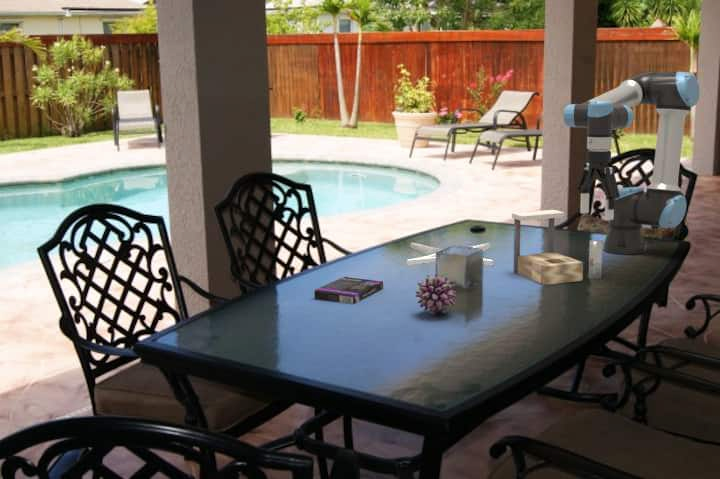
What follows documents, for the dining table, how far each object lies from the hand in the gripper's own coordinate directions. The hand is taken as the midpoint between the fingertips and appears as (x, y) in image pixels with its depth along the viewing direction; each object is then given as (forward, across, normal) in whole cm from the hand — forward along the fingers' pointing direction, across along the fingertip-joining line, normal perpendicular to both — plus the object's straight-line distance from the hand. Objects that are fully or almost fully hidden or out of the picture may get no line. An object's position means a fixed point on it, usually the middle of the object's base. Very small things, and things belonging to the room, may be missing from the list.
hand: (596, 216), depth 298 cm
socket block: (+20, -6, -13) cm, 25 cm away
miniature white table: (+20, -14, -13) cm, 28 cm away
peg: (+20, 0, 0) cm, 20 cm away
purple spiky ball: (+21, +18, -65) cm, 70 cm away
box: (+21, -13, -80) cm, 84 cm away
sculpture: (+21, -48, -29) cm, 60 cm away
